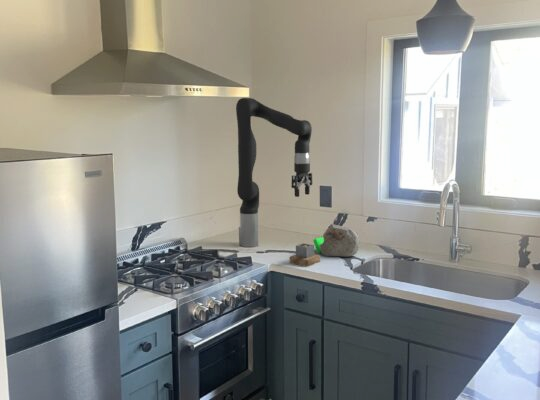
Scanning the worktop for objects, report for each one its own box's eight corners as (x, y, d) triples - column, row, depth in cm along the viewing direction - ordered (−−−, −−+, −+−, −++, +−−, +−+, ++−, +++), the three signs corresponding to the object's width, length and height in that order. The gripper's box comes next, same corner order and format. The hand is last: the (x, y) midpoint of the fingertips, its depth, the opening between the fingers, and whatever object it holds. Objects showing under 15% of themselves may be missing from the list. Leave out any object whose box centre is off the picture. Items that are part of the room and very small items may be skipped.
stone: (360, 255, 262) (360, 224, 260) (358, 259, 255) (358, 227, 253) (321, 252, 267) (321, 222, 265) (318, 256, 260) (318, 225, 258)
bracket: (341, 252, 282) (337, 239, 285) (352, 246, 274) (347, 233, 277) (309, 258, 272) (305, 244, 274) (320, 252, 264) (315, 238, 266)
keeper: (289, 263, 249) (289, 245, 248) (302, 258, 257) (302, 241, 256) (307, 266, 243) (307, 249, 242) (320, 261, 251) (320, 244, 250)
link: (295, 256, 249) (295, 245, 249) (303, 253, 254) (303, 243, 253) (306, 258, 246) (306, 247, 245) (314, 255, 250) (314, 244, 250)
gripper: (304, 160, 270) (304, 193, 273) (286, 163, 259) (287, 196, 262) (316, 161, 265) (316, 194, 268) (299, 163, 254) (300, 198, 257)
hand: (302, 195), depth 265 cm, fingers open, 8 cm apart
